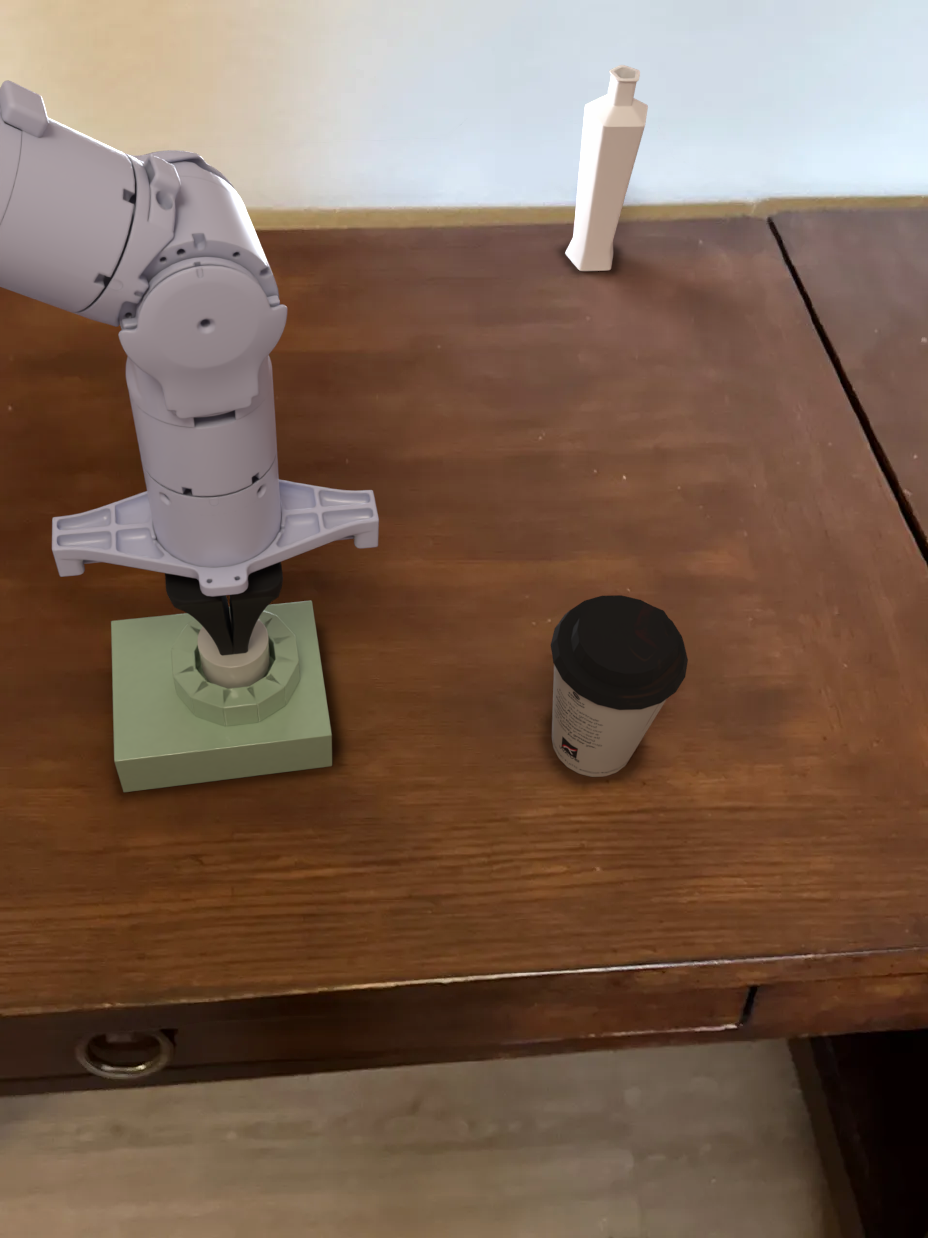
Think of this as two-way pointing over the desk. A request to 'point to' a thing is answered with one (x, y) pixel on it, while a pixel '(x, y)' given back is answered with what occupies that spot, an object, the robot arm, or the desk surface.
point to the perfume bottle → (606, 169)
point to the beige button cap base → (215, 704)
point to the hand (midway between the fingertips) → (232, 638)
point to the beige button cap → (235, 660)
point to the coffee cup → (611, 680)
